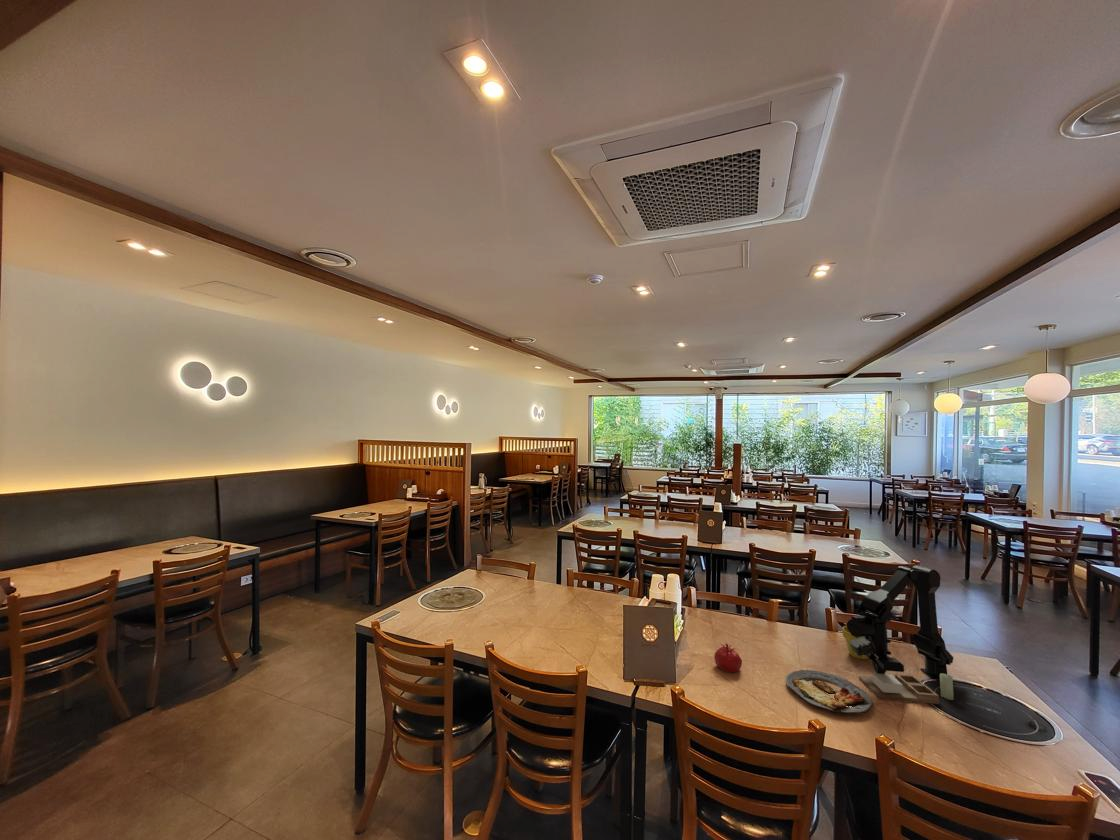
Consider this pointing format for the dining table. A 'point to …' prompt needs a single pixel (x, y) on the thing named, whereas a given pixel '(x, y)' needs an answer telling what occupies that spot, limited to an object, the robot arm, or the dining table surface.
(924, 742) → the dining table surface
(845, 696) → the food plate
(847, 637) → the plant pot
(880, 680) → the cover
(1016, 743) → the dining table surface
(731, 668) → the pomegranate
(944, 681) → the peg
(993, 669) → the dining table surface
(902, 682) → the board
